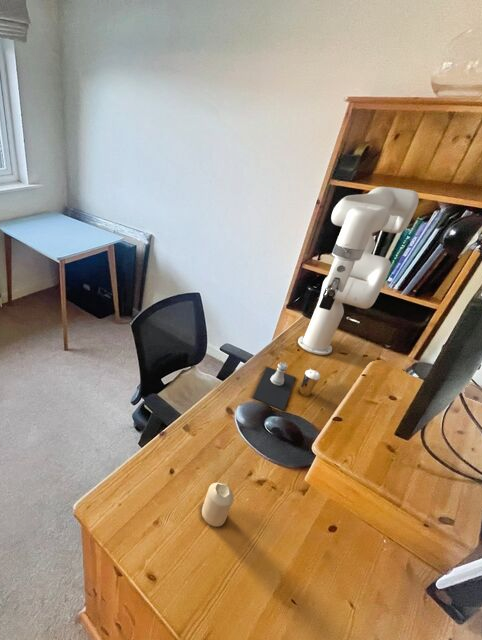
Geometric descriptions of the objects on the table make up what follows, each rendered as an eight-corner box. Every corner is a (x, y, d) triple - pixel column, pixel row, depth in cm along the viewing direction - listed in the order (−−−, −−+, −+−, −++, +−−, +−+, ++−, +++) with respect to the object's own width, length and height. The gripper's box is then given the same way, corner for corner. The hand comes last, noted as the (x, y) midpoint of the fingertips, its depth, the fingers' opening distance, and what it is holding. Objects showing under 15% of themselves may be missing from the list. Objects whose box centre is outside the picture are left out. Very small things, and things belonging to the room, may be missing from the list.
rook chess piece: (272, 376, 125) (279, 358, 121) (285, 382, 123) (292, 364, 118) (267, 381, 122) (274, 364, 118) (280, 388, 120) (287, 370, 116)
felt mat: (266, 367, 130) (266, 366, 130) (294, 378, 125) (295, 377, 125) (252, 397, 116) (252, 397, 116) (283, 411, 111) (284, 410, 111)
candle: (212, 531, 78) (221, 506, 73) (196, 509, 82) (204, 484, 77) (230, 520, 81) (240, 495, 75) (214, 499, 85) (222, 474, 79)
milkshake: (307, 387, 121) (318, 364, 116) (314, 397, 117) (324, 375, 112) (294, 385, 122) (304, 363, 116) (300, 396, 117) (310, 373, 112)
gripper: (361, 263, 94) (337, 317, 103) (363, 247, 106) (341, 296, 115) (330, 257, 97) (309, 309, 106) (336, 241, 110) (317, 290, 119)
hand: (326, 302), depth 111 cm, fingers open, 9 cm apart
